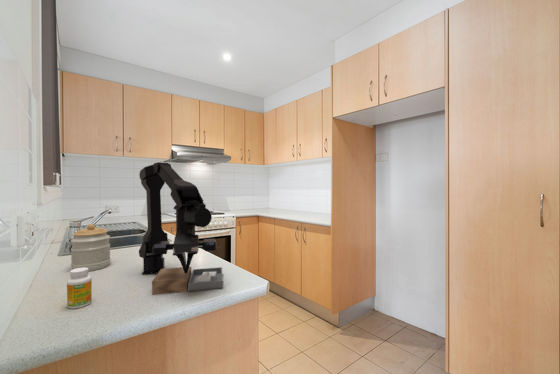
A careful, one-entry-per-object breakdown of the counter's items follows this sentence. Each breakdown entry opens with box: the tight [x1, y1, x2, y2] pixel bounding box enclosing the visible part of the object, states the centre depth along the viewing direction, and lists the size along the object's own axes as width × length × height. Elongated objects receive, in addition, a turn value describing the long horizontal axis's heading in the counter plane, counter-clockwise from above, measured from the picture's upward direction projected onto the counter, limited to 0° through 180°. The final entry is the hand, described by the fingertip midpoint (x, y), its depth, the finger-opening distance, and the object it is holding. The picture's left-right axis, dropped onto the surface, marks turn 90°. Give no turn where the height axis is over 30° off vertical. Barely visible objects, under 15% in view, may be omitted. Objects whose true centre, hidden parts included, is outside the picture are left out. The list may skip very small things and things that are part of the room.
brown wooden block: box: [151, 266, 192, 296], centre depth 84 cm, size 10×12×4 cm
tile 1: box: [203, 271, 217, 281], centre depth 88 cm, size 4×4×2 cm
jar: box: [70, 223, 112, 272], centre depth 104 cm, size 13×13×18 cm
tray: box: [187, 266, 224, 293], centre depth 87 cm, size 10×14×2 cm
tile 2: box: [195, 271, 211, 283], centre depth 83 cm, size 4×4×2 cm
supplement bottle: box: [66, 268, 93, 310], centre depth 71 cm, size 5×5×10 cm
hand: (186, 272), depth 82 cm, fingers closed
